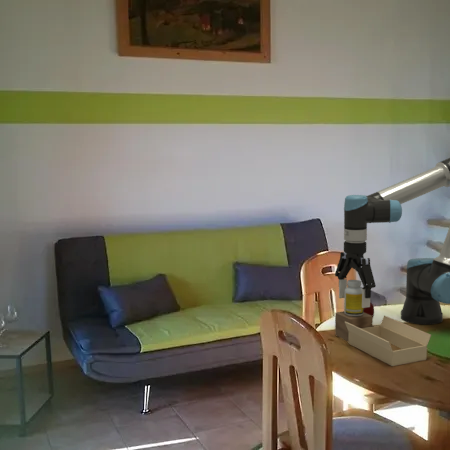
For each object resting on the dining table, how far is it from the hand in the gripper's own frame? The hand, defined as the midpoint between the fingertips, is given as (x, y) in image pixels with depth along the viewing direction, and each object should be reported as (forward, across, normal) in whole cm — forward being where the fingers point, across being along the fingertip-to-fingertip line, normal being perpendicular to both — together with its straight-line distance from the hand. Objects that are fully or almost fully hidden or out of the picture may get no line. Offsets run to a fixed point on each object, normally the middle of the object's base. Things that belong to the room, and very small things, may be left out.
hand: (354, 302), depth 218 cm
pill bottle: (+4, 0, 0) cm, 4 cm away
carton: (+12, +16, +1) cm, 21 cm away
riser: (+12, 0, 0) cm, 12 cm away
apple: (+12, -8, +9) cm, 18 cm away
